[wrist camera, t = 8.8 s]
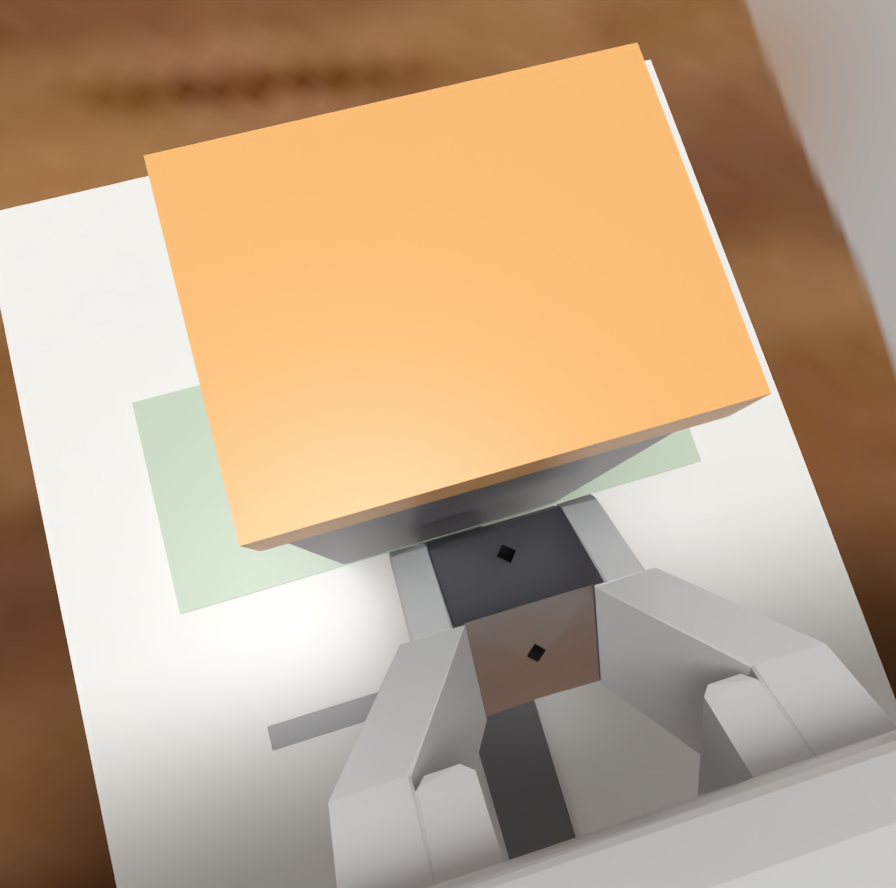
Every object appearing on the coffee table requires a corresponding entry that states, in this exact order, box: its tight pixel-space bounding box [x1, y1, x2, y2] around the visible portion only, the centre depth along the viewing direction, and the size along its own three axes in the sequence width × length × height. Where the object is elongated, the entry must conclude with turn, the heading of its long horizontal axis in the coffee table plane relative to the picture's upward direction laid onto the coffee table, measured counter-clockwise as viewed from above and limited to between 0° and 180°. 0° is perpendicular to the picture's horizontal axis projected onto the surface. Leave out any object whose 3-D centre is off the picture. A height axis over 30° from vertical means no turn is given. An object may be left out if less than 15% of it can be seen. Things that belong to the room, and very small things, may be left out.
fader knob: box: [144, 43, 771, 564], centre depth 10 cm, size 3×4×8 cm
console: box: [0, 60, 896, 888], centre depth 14 cm, size 28×14×2 cm, turn 17°
